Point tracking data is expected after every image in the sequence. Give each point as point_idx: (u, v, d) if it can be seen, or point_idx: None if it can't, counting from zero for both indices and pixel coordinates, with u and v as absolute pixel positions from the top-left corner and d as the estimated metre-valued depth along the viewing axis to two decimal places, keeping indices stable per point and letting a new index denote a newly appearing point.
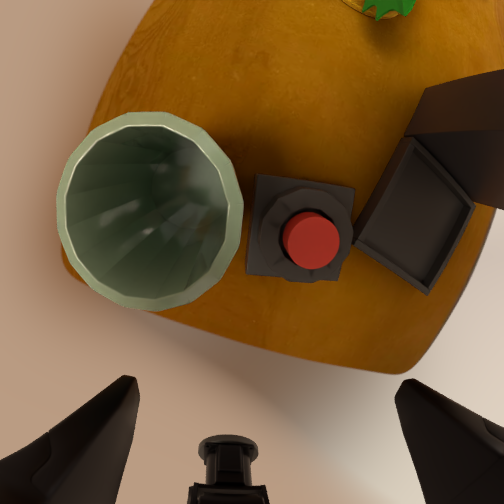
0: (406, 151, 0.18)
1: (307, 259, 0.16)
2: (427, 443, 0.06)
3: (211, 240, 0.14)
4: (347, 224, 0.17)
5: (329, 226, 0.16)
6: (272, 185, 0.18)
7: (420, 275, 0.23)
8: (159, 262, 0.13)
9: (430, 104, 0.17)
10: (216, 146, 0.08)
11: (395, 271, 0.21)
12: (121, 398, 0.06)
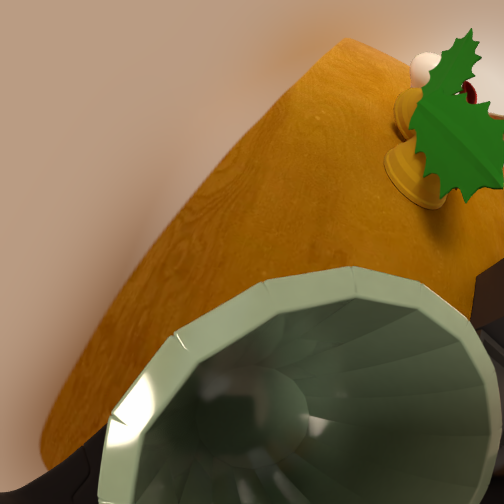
0: None
1: None
2: None
3: (339, 495, 0.06)
4: None
5: None
6: None
7: None
8: None
9: (489, 290, 0.16)
10: (484, 347, 0.03)
11: None
12: None
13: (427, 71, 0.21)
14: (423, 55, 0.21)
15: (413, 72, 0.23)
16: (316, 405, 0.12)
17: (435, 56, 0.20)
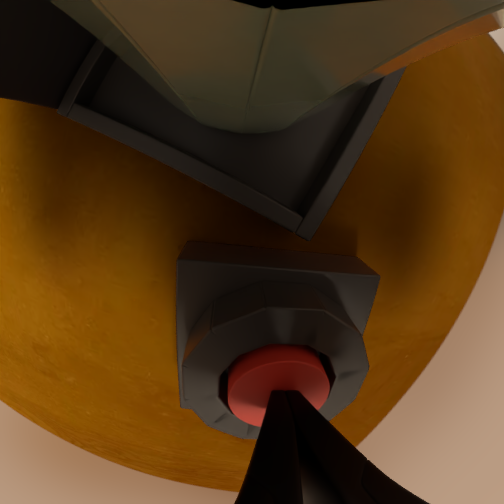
0: (83, 123, 0.07)
1: None
2: (301, 471, 0.05)
3: None
4: (250, 324, 0.07)
5: (246, 382, 0.07)
6: None
7: None
8: None
9: None
10: None
11: (376, 118, 0.08)
12: (291, 413, 0.06)
13: None
14: None
15: None
16: None
17: None
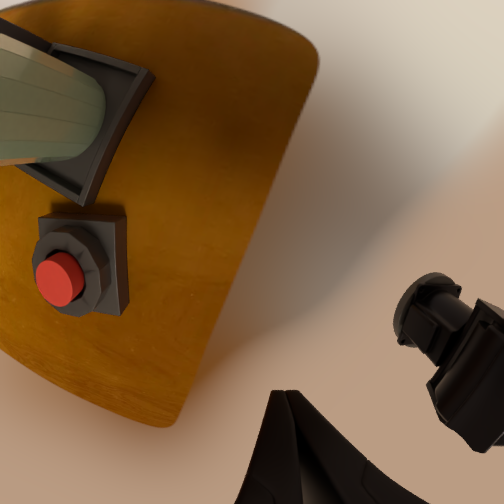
0: None
1: (65, 290, 0.14)
2: (301, 471, 0.05)
3: None
4: (47, 239, 0.15)
5: (39, 271, 0.14)
6: None
7: (130, 84, 0.15)
8: (16, 126, 0.08)
9: None
10: None
11: (108, 139, 0.15)
12: (291, 413, 0.06)
13: None
14: None
15: None
16: None
17: None
